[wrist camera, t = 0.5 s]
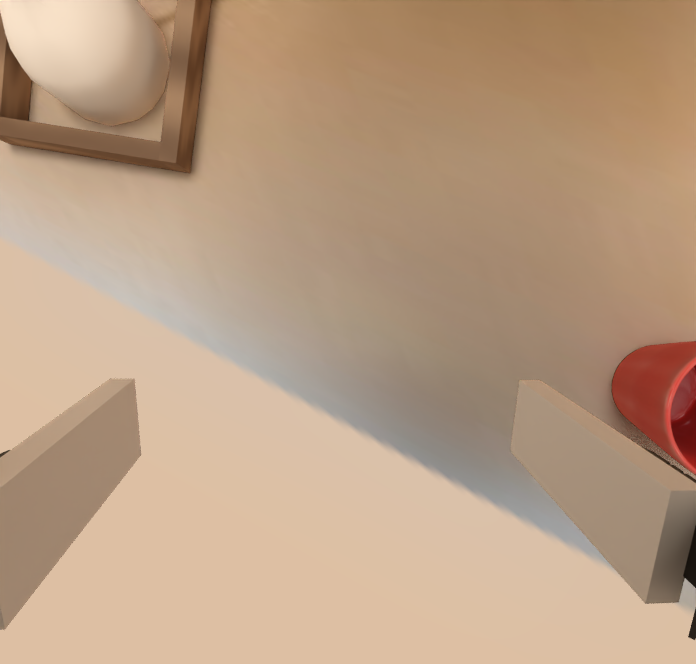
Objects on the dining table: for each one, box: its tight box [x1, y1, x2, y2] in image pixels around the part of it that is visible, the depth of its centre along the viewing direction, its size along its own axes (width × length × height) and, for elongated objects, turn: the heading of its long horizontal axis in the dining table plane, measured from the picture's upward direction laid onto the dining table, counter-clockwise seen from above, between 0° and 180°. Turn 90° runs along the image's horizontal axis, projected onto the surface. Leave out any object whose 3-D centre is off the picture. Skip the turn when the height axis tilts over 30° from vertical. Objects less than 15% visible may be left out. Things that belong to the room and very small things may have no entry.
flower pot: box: [612, 341, 696, 475], centre depth 35 cm, size 11×11×10 cm
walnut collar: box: [0, 0, 211, 173], centre depth 37 cm, size 17×17×3 cm
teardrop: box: [0, 0, 170, 126], centre depth 33 cm, size 11×11×12 cm
